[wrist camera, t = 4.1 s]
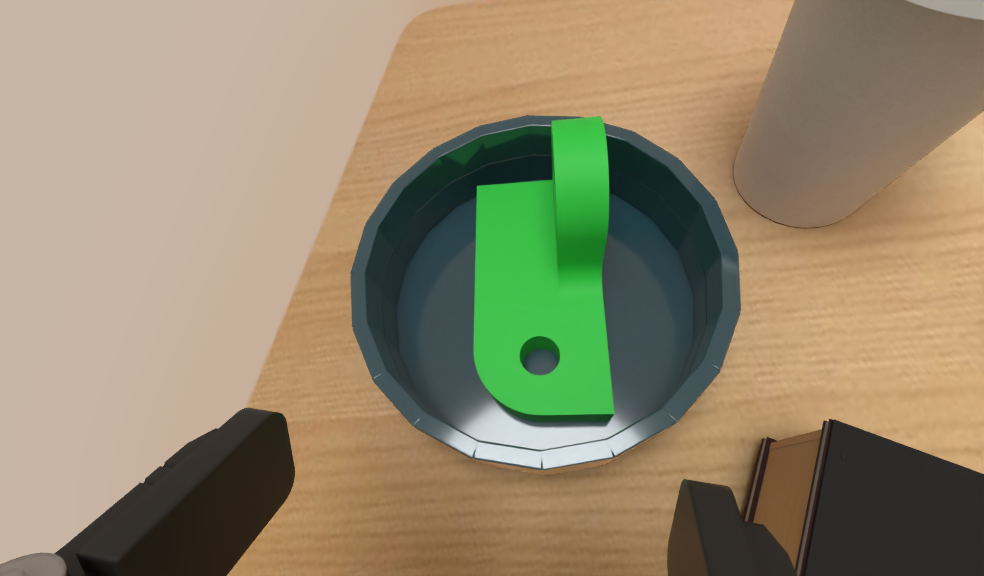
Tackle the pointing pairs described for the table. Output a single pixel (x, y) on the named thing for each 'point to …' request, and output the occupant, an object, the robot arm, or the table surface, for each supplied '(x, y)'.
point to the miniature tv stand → (867, 506)
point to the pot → (630, 336)
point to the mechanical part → (547, 282)
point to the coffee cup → (858, 102)
